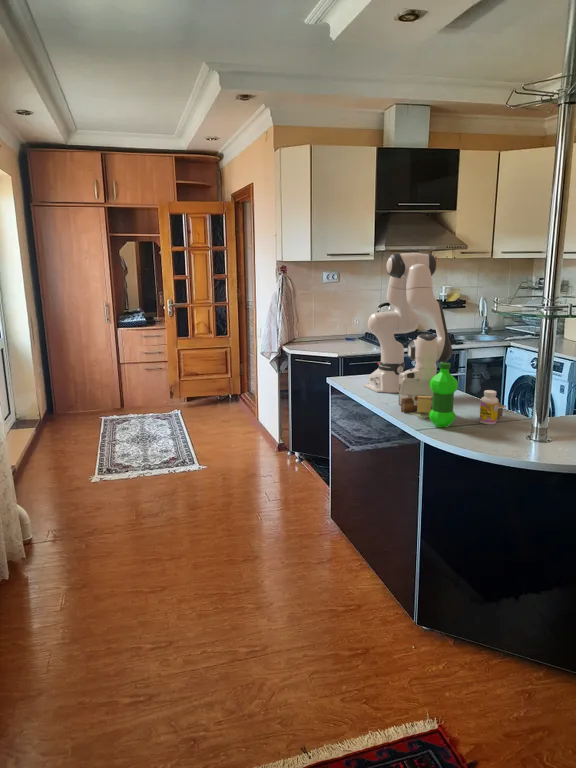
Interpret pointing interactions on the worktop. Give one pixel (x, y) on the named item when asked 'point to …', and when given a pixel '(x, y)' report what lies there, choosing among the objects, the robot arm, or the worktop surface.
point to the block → (424, 404)
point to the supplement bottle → (489, 407)
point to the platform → (500, 409)
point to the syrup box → (400, 387)
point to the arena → (410, 404)
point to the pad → (421, 414)
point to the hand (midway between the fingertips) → (424, 405)
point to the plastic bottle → (443, 396)
